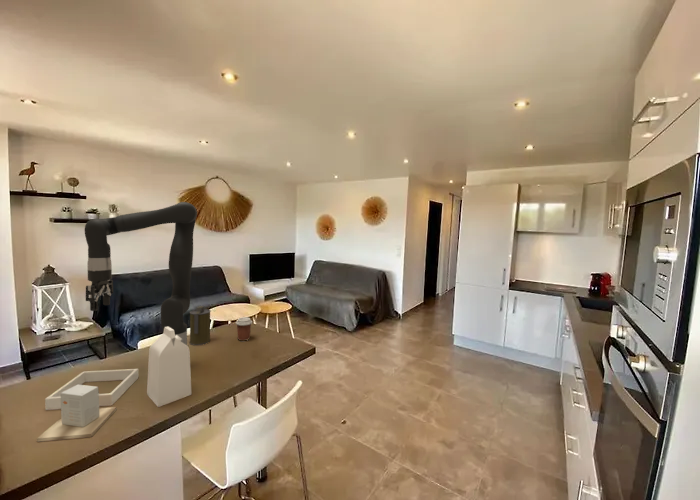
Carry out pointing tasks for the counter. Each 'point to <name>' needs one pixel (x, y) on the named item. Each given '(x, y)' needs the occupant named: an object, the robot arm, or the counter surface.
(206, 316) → the canister
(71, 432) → the board
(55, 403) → the bin
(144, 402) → the counter surface
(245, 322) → the coffee cup
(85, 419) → the small box
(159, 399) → the milk
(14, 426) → the counter surface
